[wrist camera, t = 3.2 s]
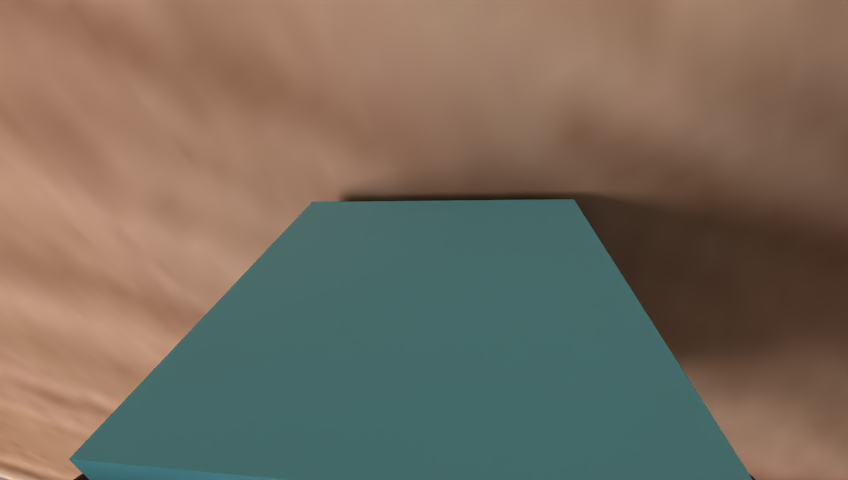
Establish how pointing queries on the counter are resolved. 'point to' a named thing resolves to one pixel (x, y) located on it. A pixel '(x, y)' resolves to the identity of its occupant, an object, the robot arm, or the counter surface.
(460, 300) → the teal cube
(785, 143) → the counter surface
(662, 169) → the counter surface
